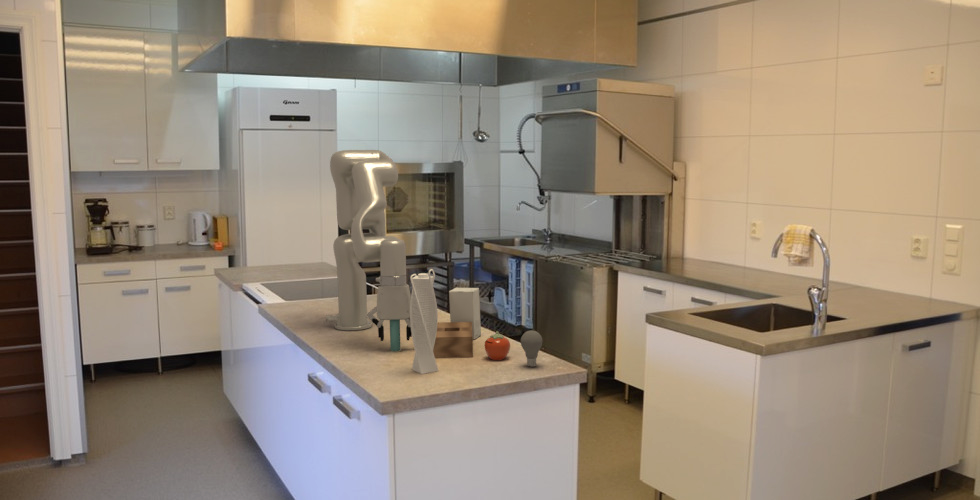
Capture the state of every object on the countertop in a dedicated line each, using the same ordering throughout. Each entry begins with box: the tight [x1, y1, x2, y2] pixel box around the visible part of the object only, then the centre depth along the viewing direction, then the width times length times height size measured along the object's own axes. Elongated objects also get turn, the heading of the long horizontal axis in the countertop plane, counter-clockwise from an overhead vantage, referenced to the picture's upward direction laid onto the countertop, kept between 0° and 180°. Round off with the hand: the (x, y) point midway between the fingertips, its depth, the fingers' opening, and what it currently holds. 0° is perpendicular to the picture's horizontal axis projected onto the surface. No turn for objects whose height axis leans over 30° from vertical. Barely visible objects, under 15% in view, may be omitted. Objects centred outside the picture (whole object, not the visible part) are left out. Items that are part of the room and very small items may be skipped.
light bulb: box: [520, 329, 543, 368], centre depth 216 cm, size 6×6×10 cm
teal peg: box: [389, 320, 401, 352], centre depth 236 cm, size 3×3×10 cm
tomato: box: [483, 330, 511, 361], centre depth 225 cm, size 7×7×8 cm
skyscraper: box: [409, 268, 439, 375], centre depth 212 cm, size 8×8×28 cm
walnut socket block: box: [433, 321, 474, 359], centre depth 237 cm, size 12×20×6 cm, turn 2°
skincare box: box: [448, 287, 482, 340], centre depth 251 cm, size 8×7×16 cm
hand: (395, 339), depth 236 cm, fingers open, 7 cm apart
